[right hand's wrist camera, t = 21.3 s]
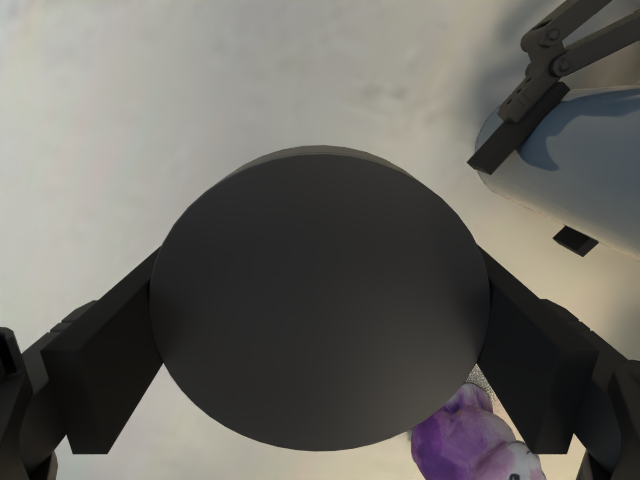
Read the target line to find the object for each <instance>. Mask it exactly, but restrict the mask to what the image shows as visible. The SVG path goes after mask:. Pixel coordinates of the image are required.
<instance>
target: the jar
mask: <svg viewBox="0 0 640 480" xmlns="http://www.w3.org/2000/svg"><path fill="white" fill-rule="evenodd" d="M499 108H500V107H498V108H497V109H496V110H495V111H494V112H493V113H492V114H491V115H490V117H489V118H488V119H487V120H486V122H485V124H484V125H483V127H482V129H481V131H480V133H479V136H478V139H477V142H476V147H475V153H476V152H477V151H478V149H479V148H480V147H481V146H482V145H483V144H484V143H485V142H486V141H487V139H488V138H489V137H490V136H491V135H492V134H493V133H494V132H495V131H496V129H497V128H498V127H499V126H500V125H501V124H502V123H503V122H504V121H503V120H502V119H501V118H500V117H499V116H498V115H497V113H498V111H499ZM477 171H478V170H477ZM478 174H479V176H480V178H481V180H482V181H483V182H484V184H485V185H486V186H487V187H488V188H489V189H491V190H492V191H493V192H495V193H497V194H499V195H501V196H503V197H505V198H507V199H509V200H512V201H514V202H516V203H518V204H520V205H522V206H524V207H526V208H528V209H530V210H533V211H535V212H537V213H539V214H541V215H543V216H545V217H547V218H549V219H552V220H554V221H556V222H558V223H560V224H562V225H564V226H566V227H568V228H570V229H573V230H575V231H577V232H579V233H581V234H583V235H585V236H587V237H589V238H591V239H594V240H596V241H598V242H600V243H602V244H604V245H606V246H608V247H610V248H612V249H615V250H617V251H619V252H621V253H623V254H625V255H627V256H629V257H631V258H633V259H636V260H638V261H640V84H633V85H620V86H608V87H595V88H582V89H570V91H569V92H568V93H567V94H566V95H565V96H564V98H563V99H562V100H561V101H560V102H559V103H558V104H557V105H556V106H555V107H554V108H553V109H552V110H551V111H550V113H549V114H548V115H547V116H546V117H545V118H544V119H543V120H542V121H541V122H540V123H539V124H538V125H537V126H536V128H535V129H534V130H533V131H532V132H531V133H530V134H529V135H528V136H527V137H526V138H525V139H524V140H523V141H522V143H521V144H520V145H519V146H518V147H517V148H516V149H515V150H514V151H513V152H512V153H511V154H510V155H509V156H508V158H507V159H506V160H505V161H504V162H503V163H502V164H501V165H500V166H499V167H498V168H497V169H496V170H495V171H494V172H493V174H492V175H489V174H486V173H483V172H481V171H478Z"/></svg>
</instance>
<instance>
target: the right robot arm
mask: <svg viewBox="0 0 640 480" xmlns="http://www.w3.org/2000/svg"><path fill="white" fill-rule="evenodd" d="M161 246H162V245H161ZM161 246H160V247H159V248H158V249H157V250H156V251H154V252H153V253H152V254H151V255H150V256H149V257H148V258H146V259H145V260H144V261H143V262H142V263H141V264H140V265H138V266H137V267H136V268H135V269H134V270H133V271H131V272H130V273H129V274H128V275H127V276H126V277H125V278H123V279H122V280H121V281H120V282H119V283H118V284H116V285H115V286H114V287H113V288H112V289H111V290H110V291H108V292H107V293H106V294H105V295H104V296H103V297H102V298H100V299H99V300H93V301H91V302H89V303H87V304H85V305H83V306H81V307H79V308H77V309H75V310H74V311H73V312H72V313H70V314H69V315H68V316H67V317H65V318H64V319H63V320H62V321H61V323H58V324H57V325H56V326H55V327H53V328H52V329H51V330H50V332H47V333H46V334H45V335H44V336H42V337H41V338H40V339H39V340H38V341H36V342H35V343H34V344H33V345H31V346H30V347H29V348H28V349H27V350H25V351H24V352H23V353H22V354H21V352H20V349H19V346H18V344H17V341H16V338H15V335H14V332H13V331H12V330H10V329H9V328H6V327H0V480H56V475H57V469H58V463H57V457H56V454H55V451H54V450H55V448H56V447H57V446H58V445H59V443H60V442H61V441H62V439H63V438H64V437H65V436H66V434H67V437H68V441H69V444H70V447H71V450H72V453H73V454H108V452H109V451H110V449H111V447H112V446H113V444H114V442H115V441H116V439H117V438H118V436H119V434H120V433H121V431H122V429H123V428H124V426H125V425H126V423H127V421H128V420H129V418H130V416H131V415H132V413H133V411H134V410H135V408H136V407H137V405H138V403H139V402H140V400H141V398H142V397H143V395H144V394H145V392H146V390H147V389H148V387H149V385H150V384H151V382H152V381H153V379H154V377H155V376H156V374H157V372H158V371H159V369H160V367H161V366H162V364H163V361H162V359H161V357H160V354H159V352H158V349H157V346H156V344H155V340H154V335H153V330H152V325H151V319H150V313H149V292H150V281H151V277H152V273H153V268H154V264H155V261H156V259H157V256H158V254H159V251H160V249H161ZM477 246H478V245H477ZM478 248H479V250H480V252H481V255H482V258H483V261H484V264H485V267H486V270H487V274H488V281H489V287H490V311H491V312H490V318H489V324H488V329H487V334H486V339H485V342H484V345H483V349H482V351H481V353H480V355H479V358H478V360H477V362H476V363H477V365H478V366H479V368H480V369H481V371H482V373H483V374H484V376H485V378H486V379H487V381H488V383H489V384H490V386H491V387H492V389H493V391H494V392H495V394H496V396H497V397H498V399H499V400H500V402H501V404H502V405H503V407H504V409H505V410H506V412H507V413H508V415H509V417H510V418H511V420H512V422H513V423H514V425H515V427H516V428H517V430H518V431H519V433H520V435H521V436H522V438H523V440H524V441H525V443H526V444H527V446H528V448H529V449H530V451H531V453H532V454H567V452H568V449H569V446H570V443H571V440H572V436H573V433H574V434H575V435H576V436H577V438H578V439H579V440H580V441H581V443H582V444H583V445H584V447H585V448H586V451H585V454H584V457H583V460H582V463H581V466H580V469H579V472H578V475H577V478H576V480H640V361H637V360H628V359H626V358H625V357H624V356H623V355H622V354H620V353H619V352H618V351H617V350H615V349H614V348H613V347H612V346H611V345H609V344H608V343H607V342H606V341H604V340H603V339H602V338H601V337H600V336H598V335H597V334H596V333H595V332H593V331H590V328H589V327H587V326H586V325H585V324H584V323H582V322H579V319H578V318H576V317H575V316H574V315H573V314H571V313H570V312H569V311H568V310H567V309H565V308H563V307H561V306H559V305H557V304H555V303H553V302H551V301H549V300H547V299H539V298H538V297H537V296H536V295H535V294H534V293H532V292H531V291H530V290H529V289H528V288H527V287H526V286H524V285H523V284H522V283H521V282H520V281H519V280H518V279H516V278H515V277H514V276H513V275H512V274H511V273H509V272H508V271H507V270H506V269H505V268H504V267H503V266H501V265H500V264H499V263H498V262H497V261H496V260H494V259H493V258H492V257H491V256H490V255H489V254H488V253H486V252H485V251H484V250H483V249H482V248H481V247H480V246H478Z"/></svg>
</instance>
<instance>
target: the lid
mask: <svg viewBox="0 0 640 480" xmlns="http://www.w3.org/2000/svg"><path fill="white" fill-rule="evenodd" d="M490 312H491V311H490V287H489V281H488V274H487V270H486V267H485V264H484V261H483V258H482V255H481V252H480V250H479V248H478V246H477V244H476V242H475V240H474V238H473V236H472V234H471V232H470V231H469V230H468V228H467V227H466V225H465V224H464V223H463V221H462V220H461V219H460V217H459V216H458V214H457V213H456V212H455V211H454V210H453V209H452V208H451V207H450V206H449V205H448V204H447V203H446V202H445V201H444V200H443V199H442V198H441V197H439V196H438V195H437V194H435V193H434V192H433V191H431V190H430V189H429V188H427V187H426V186H425V185H424V184H422V183H421V182H419V181H418V180H417V179H415V178H414V177H413V176H411V175H410V174H409V173H407V172H406V171H405V170H403V169H402V168H400V167H398V166H396V165H394V164H392V163H391V162H389V161H387V160H385V159H383V158H380V157H377V156H375V155H372V154H370V153H367V152H363V151H359V150H355V149H351V148H346V147H338V146H327V145H317V146H300V147H295V148H289V149H283V150H280V151H277V152H273V153H270V154H267V155H264V156H261V157H259V158H257V159H255V160H253V161H251V162H249V163H247V164H245V165H243V166H241V167H240V168H238V169H237V170H235V171H234V172H232V173H231V174H229V175H228V176H226V177H225V178H224V179H222V180H221V181H219V182H218V183H217V184H215V185H214V186H213V187H211V188H210V189H208V190H207V191H206V192H205V193H203V194H202V195H201V196H200V197H199V198H198V199H197V200H196V201H195V202H193V203H192V204H191V205H190V206H189V207H188V208H187V209H186V211H185V212H184V213H183V214H182V215H181V217H180V218H179V219H178V220H177V221H176V223H175V224H174V225H173V227H172V229H171V230H170V232H169V234H168V235H167V237H166V239H165V240H164V242H163V244H162V246H161V249H160V251H159V254H158V256H157V259H156V261H155V264H154V268H153V273H152V277H151V281H150V292H149V313H150V319H151V325H152V330H153V335H154V340H155V344H156V346H157V349H158V352H159V354H160V357H161V359H162V361H163V363H164V365H165V366H166V368H167V370H168V372H169V374H170V375H171V377H172V378H173V379H174V381H175V382H176V383H177V385H178V386H179V388H180V389H181V390H182V391H183V392H184V393H185V394H186V396H187V397H188V398H189V399H190V400H191V401H192V402H193V403H194V404H195V405H196V406H198V407H199V408H200V409H201V410H202V411H204V412H205V413H206V414H207V415H208V416H210V417H211V418H213V419H214V420H216V421H217V422H219V423H220V424H222V425H224V426H225V427H227V428H229V429H231V430H233V431H235V432H237V433H239V434H241V435H243V436H246V437H248V438H251V439H253V440H256V441H259V442H262V443H266V444H269V445H273V446H277V447H282V448H288V449H294V450H304V451H337V450H345V449H354V448H358V447H362V446H367V445H371V444H375V443H378V442H381V441H384V440H387V439H390V438H392V437H394V436H396V435H399V434H401V433H403V432H405V431H407V430H409V429H411V428H413V427H414V426H416V425H418V424H419V423H421V422H423V421H424V420H426V419H427V418H428V417H430V416H431V415H432V414H434V413H435V412H436V411H438V410H439V409H440V408H441V407H442V406H443V405H444V404H445V403H446V402H447V401H448V400H450V399H451V398H452V397H453V395H454V394H455V393H456V392H457V391H458V389H459V388H460V387H461V386H462V385H463V383H464V382H465V381H466V379H467V377H468V376H469V374H470V373H471V371H472V370H473V368H474V366H475V364H476V362H477V360H478V358H479V355H480V353H481V351H482V349H483V345H484V342H485V339H486V334H487V329H488V324H489V318H490Z"/></svg>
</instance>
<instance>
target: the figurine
mask: <svg viewBox="0 0 640 480" xmlns="http://www.w3.org/2000/svg"><path fill="white" fill-rule="evenodd" d="M411 453H412V458H413V460H414V462H415V463H416V464H417V466H418V468H419V470H420V472H421V473H422V475H423V476H424V478H425V479H426V480H547V479H546V477H545V474H544V473H543V471H542V469H541V464H540V459H539V456H538V454H532V453H531V451H530V449H529V448H528V446H527V444H526V443H524V442H523V441H518V440H516V438H515V436H514V433H513V431H512V429H511V428H510V427H509V425H508V424H507V423H506V422H505V421H504V420H503V419H501V418H500V417H498V416H497V415H495V414H493V408H492V401H491V400H490V396H489V395H488V393H486V392H485V391H484V390H482V389H480V388H479V387H478V386H477V385H474V384H471V383H467V384H464V385H462V386H461V387H460V388H459V389H458V391H457V392H456V393H455V394H454V395H453V397H452V398H451V399H450V400H448V401H447V402H446V403H445V404H444V405H443V406H442V407H441V408H440V409H439V410H438V411H436V412H435V413H434V414H432V415H431V416H430V417H428V418H427V419H426V420H424V421H423V422H421V423H419V424H418V425H416V426H414V430H413V433H412V437H411Z"/></svg>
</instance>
